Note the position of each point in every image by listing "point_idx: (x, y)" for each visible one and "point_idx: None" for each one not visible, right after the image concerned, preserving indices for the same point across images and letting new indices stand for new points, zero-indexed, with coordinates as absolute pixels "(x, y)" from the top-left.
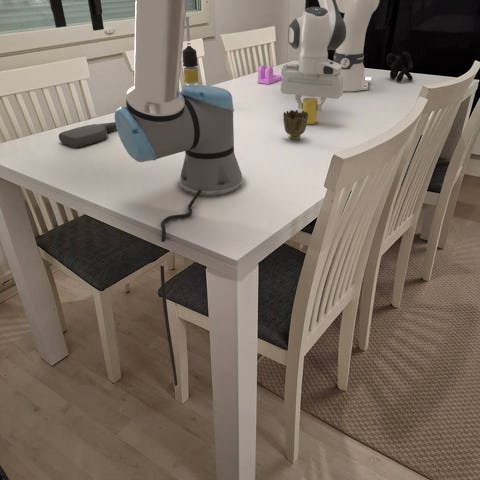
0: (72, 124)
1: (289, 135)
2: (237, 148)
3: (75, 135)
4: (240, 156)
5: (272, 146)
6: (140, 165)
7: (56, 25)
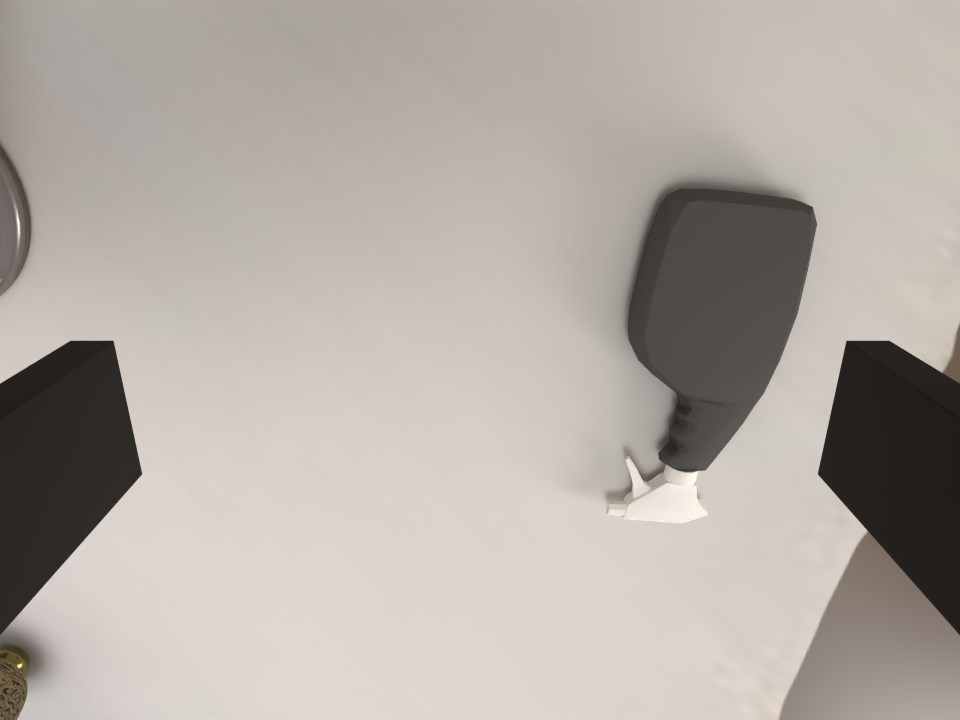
0: None
1: (12, 660)
2: None
3: (710, 231)
4: None
5: None
6: (273, 195)
7: (881, 350)
